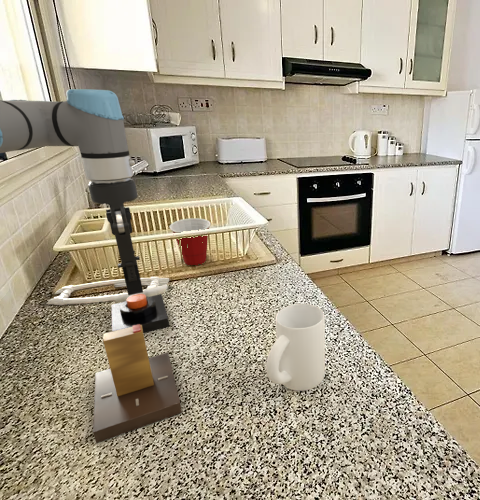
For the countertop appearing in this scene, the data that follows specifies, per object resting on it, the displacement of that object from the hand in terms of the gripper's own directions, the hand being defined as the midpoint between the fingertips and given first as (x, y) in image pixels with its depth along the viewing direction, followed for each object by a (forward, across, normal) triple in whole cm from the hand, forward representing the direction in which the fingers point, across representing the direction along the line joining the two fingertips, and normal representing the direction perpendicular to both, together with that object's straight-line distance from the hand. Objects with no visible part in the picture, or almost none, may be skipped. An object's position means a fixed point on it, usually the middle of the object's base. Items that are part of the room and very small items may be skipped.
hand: (135, 292), depth 78 cm
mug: (+7, -34, -21) cm, 40 cm away
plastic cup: (+7, +27, -16) cm, 32 cm away
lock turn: (+5, -25, +2) cm, 25 cm away
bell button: (+3, 0, 0) cm, 3 cm away
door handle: (+7, +15, +5) cm, 17 cm away
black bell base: (+7, 0, 0) cm, 7 cm away
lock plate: (+7, -25, +2) cm, 26 cm away
